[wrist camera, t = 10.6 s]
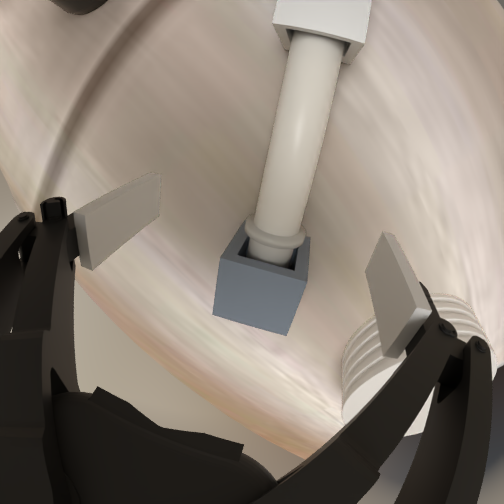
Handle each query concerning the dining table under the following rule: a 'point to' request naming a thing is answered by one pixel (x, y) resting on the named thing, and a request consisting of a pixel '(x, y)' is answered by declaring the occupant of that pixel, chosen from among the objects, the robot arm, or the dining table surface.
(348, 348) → the plate stack
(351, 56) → the sleeve
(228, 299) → the socket
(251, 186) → the dining table surface
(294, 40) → the tube
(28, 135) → the dining table surface
